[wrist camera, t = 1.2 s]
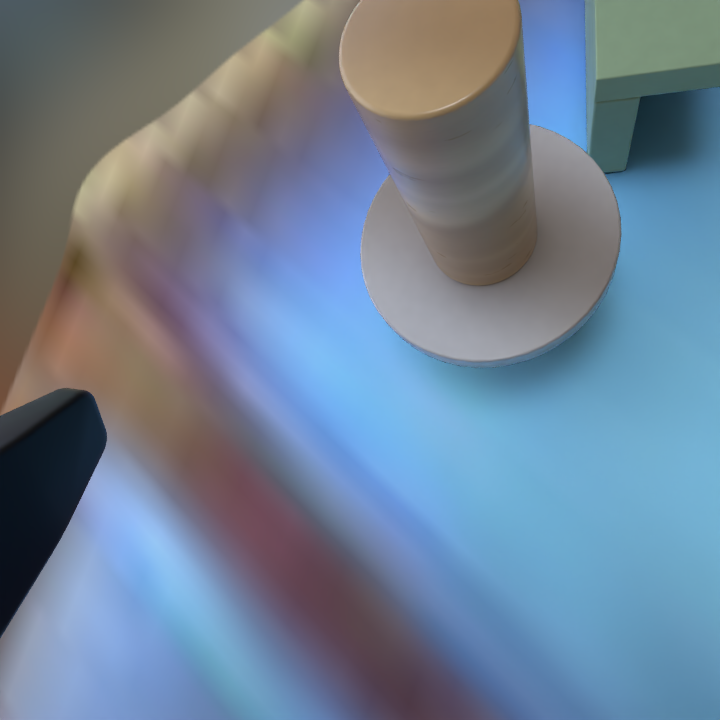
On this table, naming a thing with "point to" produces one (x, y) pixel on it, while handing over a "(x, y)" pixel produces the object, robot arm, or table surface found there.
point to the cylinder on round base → (472, 187)
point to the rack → (643, 64)
